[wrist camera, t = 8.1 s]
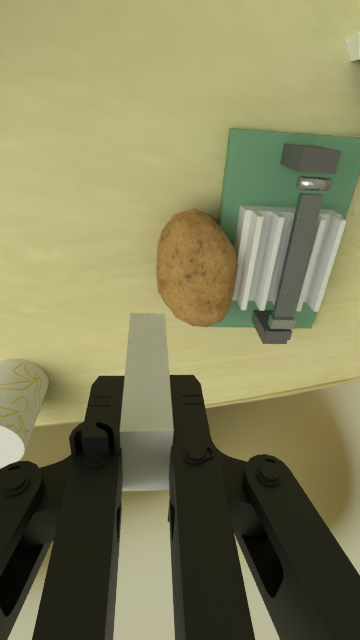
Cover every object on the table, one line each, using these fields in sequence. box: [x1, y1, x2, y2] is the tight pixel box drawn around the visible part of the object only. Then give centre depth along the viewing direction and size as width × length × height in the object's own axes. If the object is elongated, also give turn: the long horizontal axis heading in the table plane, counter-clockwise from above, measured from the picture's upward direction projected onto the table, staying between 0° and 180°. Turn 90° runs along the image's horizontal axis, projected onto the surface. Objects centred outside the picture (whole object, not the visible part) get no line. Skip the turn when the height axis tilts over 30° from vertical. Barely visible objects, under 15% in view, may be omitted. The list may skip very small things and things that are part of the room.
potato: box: [157, 209, 238, 327], centre depth 40 cm, size 10×14×8 cm
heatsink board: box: [209, 128, 360, 344], centre depth 40 cm, size 24×15×8 cm, turn 176°
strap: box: [268, 176, 332, 329], centre depth 37 cm, size 17×3×1 cm, turn 176°
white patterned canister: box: [0, 359, 49, 467], centre depth 47 cm, size 8×8×12 cm
